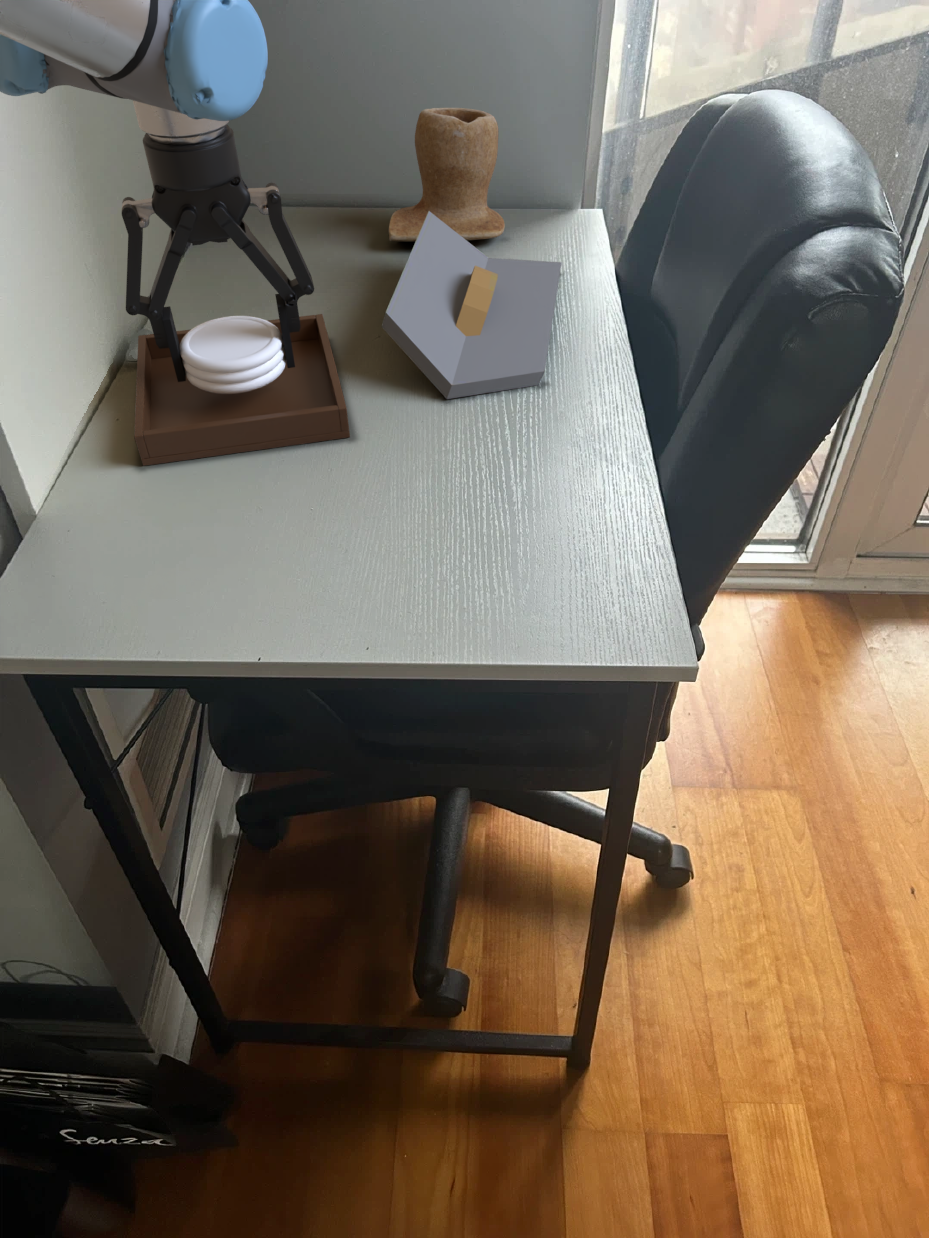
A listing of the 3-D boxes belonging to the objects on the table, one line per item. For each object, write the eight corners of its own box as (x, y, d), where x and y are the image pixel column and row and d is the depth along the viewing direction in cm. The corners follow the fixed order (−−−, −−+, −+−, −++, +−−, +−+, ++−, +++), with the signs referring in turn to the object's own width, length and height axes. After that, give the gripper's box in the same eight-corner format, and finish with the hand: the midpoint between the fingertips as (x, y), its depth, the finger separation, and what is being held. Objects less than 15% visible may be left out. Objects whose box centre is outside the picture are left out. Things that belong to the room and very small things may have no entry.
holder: (143, 466, 88) (133, 436, 86) (145, 363, 102) (138, 335, 100) (350, 437, 91) (346, 408, 89) (325, 341, 105) (322, 313, 103)
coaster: (168, 390, 92) (159, 357, 89) (211, 340, 99) (204, 309, 96) (264, 401, 90) (258, 369, 88) (301, 350, 97) (296, 318, 94)
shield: (524, 429, 97) (547, 296, 118) (543, 386, 93) (563, 257, 114) (366, 371, 95) (418, 247, 116) (379, 326, 91) (430, 205, 112)
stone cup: (500, 214, 130) (501, 94, 119) (507, 250, 121) (509, 124, 111) (390, 217, 129) (382, 97, 119) (389, 254, 121) (380, 128, 110)
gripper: (316, 103, 83) (343, 336, 98) (49, 126, 80) (121, 363, 95) (327, 131, 78) (353, 372, 93) (41, 157, 74) (118, 402, 90)
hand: (236, 367), depth 94 cm, fingers closed on coaster, 10 cm apart
